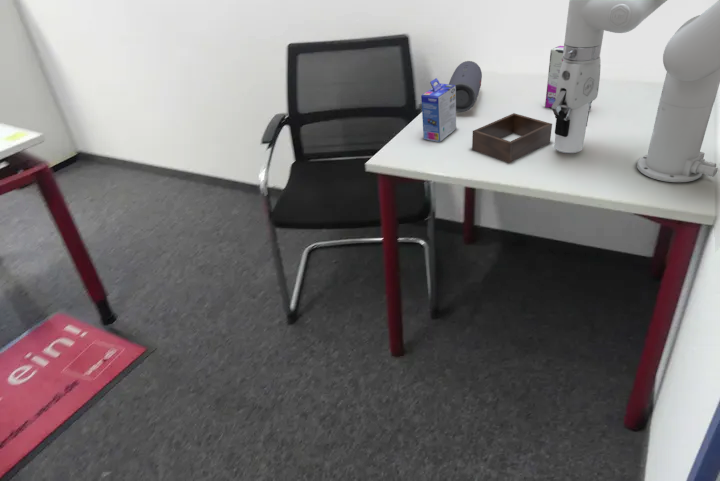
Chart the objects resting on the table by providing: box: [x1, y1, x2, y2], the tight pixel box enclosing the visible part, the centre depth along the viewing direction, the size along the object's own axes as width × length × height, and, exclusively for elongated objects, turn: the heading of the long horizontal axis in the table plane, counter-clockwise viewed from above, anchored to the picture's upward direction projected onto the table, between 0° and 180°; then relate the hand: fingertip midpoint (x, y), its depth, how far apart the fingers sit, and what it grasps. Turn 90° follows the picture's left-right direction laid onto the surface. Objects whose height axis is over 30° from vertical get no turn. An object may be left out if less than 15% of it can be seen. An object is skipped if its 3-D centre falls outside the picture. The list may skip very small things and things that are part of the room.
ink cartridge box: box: [420, 78, 457, 143], centre depth 140 cm, size 10×6×14 cm, turn 146°
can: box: [553, 102, 590, 154], centre depth 125 cm, size 6×6×12 cm
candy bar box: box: [544, 45, 564, 110], centre depth 147 cm, size 11×5×16 cm, turn 42°
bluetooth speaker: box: [448, 60, 483, 113], centre depth 159 cm, size 23×9×10 cm, turn 165°
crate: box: [471, 112, 553, 164], centre depth 132 cm, size 12×16×5 cm
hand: (570, 129), depth 125 cm, fingers closed on can, 6 cm apart
